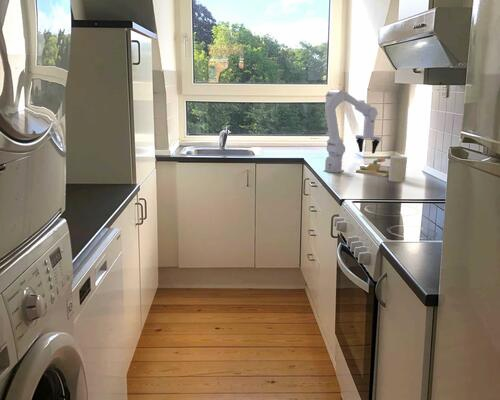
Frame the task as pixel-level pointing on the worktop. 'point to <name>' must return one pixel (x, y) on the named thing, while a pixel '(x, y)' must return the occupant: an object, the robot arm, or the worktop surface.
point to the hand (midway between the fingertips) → (367, 152)
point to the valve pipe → (374, 168)
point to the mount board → (372, 172)
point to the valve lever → (379, 160)
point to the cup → (397, 168)
